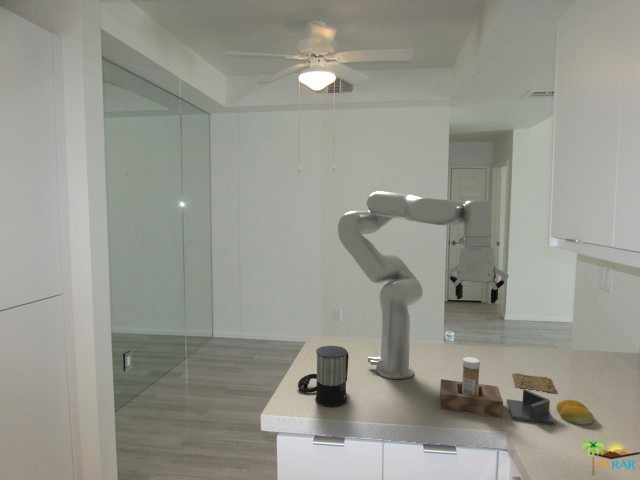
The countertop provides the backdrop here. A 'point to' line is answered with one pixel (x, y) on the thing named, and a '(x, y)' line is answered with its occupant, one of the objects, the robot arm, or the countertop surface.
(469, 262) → the robot arm
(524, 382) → the cookie
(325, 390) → the milk frother
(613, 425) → the countertop surface
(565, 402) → the bread roll
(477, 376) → the sprinkles bottle
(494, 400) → the wooden block with hole
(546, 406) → the v block
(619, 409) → the countertop surface
